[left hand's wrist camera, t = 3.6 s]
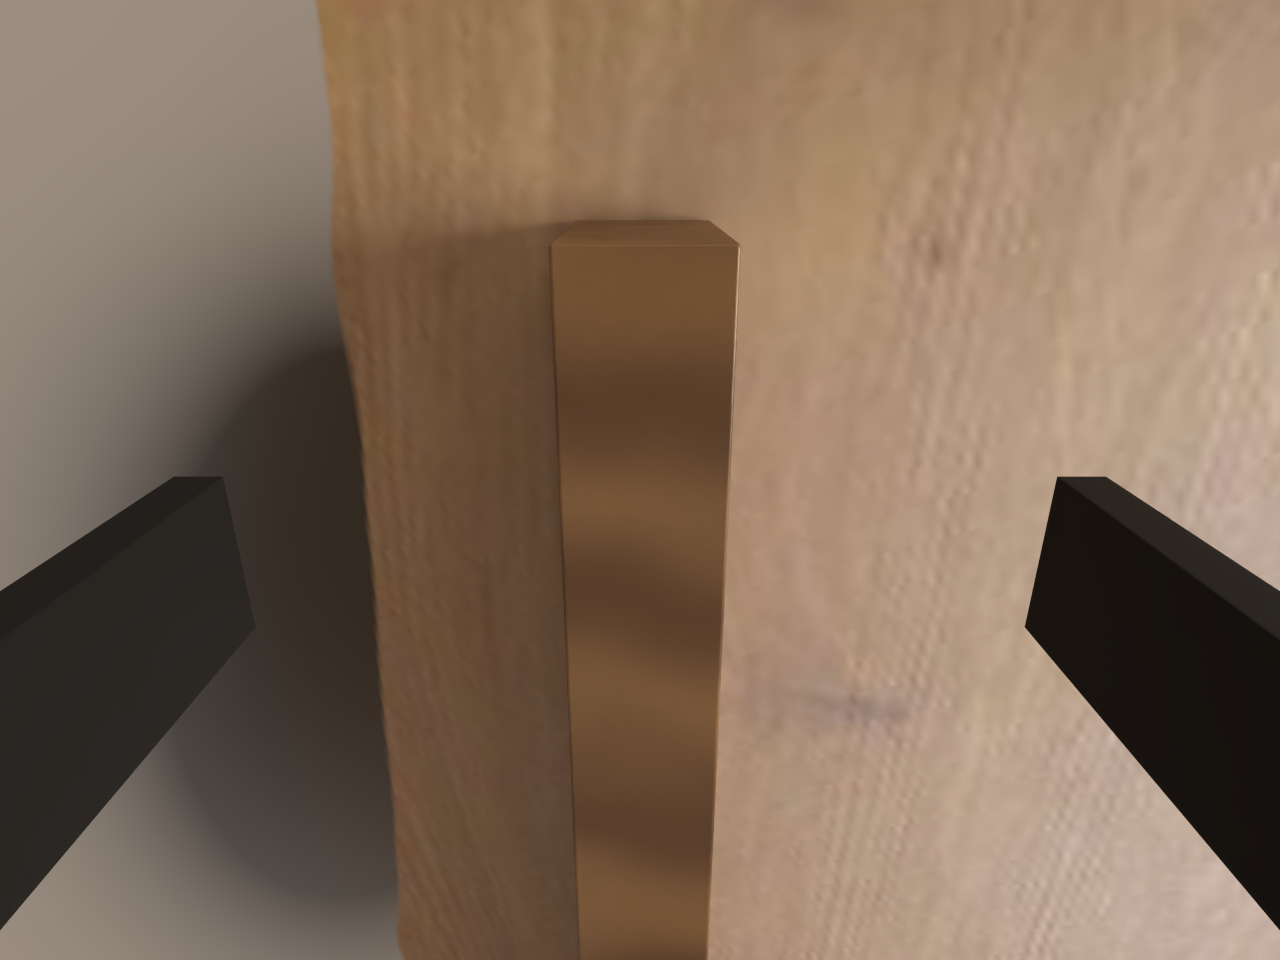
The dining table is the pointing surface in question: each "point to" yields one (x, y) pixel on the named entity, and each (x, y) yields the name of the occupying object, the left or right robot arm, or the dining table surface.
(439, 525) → the dining table surface
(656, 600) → the post
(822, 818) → the dining table surface
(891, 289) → the dining table surface
